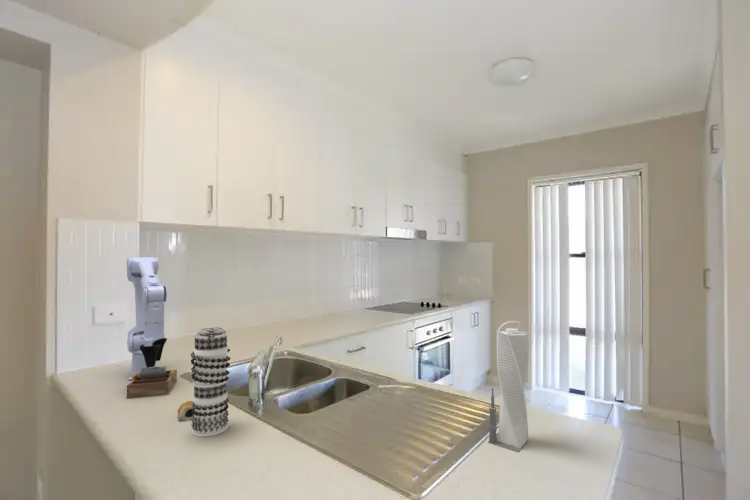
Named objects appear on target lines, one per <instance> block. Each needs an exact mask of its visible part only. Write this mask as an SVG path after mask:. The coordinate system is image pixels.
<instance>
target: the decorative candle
mask: <svg viewBox="0 0 750 500" xmlns="http://www.w3.org/2000/svg"><path fill="white" fill-rule="evenodd" d="M225 330H226V329H224V328H221V327H218V326H217V327H216V326H215V327H204V328H201V329H200V330H198V331H197V333H196V334H195V335H194V336H193V338H194V348H193V351H192V352H191V353H190V356H191V359H190V364H191V365H193V366H192V367H191V368H190V370H191V379H192V380H193V381H192V386H193V396H192V397H193V398H192V401H193V403H192V407H193V408H194V409H192V414H194V415H193V416H192V418H191V421H192V422H191V428H192V429H191V432H192V433H191V434H192V435H193V436H196V437H202V438H203V437H211V436H216V435H219V434H221V433H223V432H225V431H227V429H228V427H229V423H228V422H229V417H228V416H229V410H228V409H229V404H228V403H229V397H228V391H227V388H228V387H227V386H228V385H227V383H228V382H229V379H230V377H228V375H229V374H230V371H229V370H228V369H227V368H229V367H230V366H231V363H230V362H229V361H230V360H231V357H230V356H228V355H227V354H228V353H229V352H230V351H231V350H230V348H229V346H228V344H227V343H228V338H227V337H228V336H229V333H228V332H226V331H225Z"/></svg>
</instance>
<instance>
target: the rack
mask: <svg viewBox="0 0 750 500" xmlns="http://www.w3.org/2000/svg"><path fill="white" fill-rule="evenodd" d="M177 373H178V370H177V369H171V370H166V378H157V379H145V380H141V373H139V374H138V373H137V374H134V375H133V376H132V380H130V382H129V383H127V384H126V399H127V400H128V399H138V398H139V399H140V398H146V397H147V398H148V397H157V396H158V395H159V396H166V394H168V395H169V394H170V393H169V392H172V389H173V388H174V387H175V384H177V382H178V381H177V379H178V378H177V377H178V374H177ZM159 396H158V397H159Z"/></svg>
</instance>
